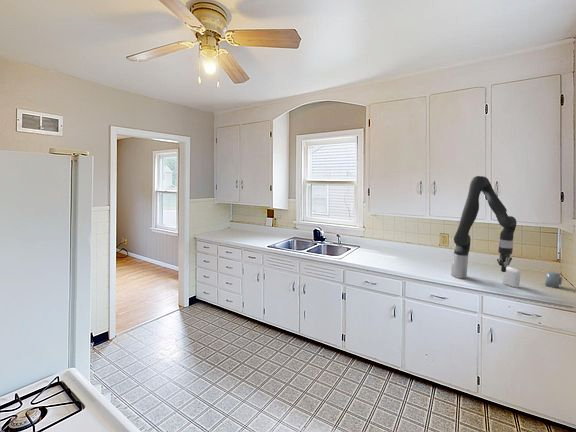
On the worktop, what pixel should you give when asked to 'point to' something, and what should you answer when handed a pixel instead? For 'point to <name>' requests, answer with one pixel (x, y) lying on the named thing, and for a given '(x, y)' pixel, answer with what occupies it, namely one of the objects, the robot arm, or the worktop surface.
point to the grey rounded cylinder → (553, 279)
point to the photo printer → (511, 277)
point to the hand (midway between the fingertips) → (503, 271)
